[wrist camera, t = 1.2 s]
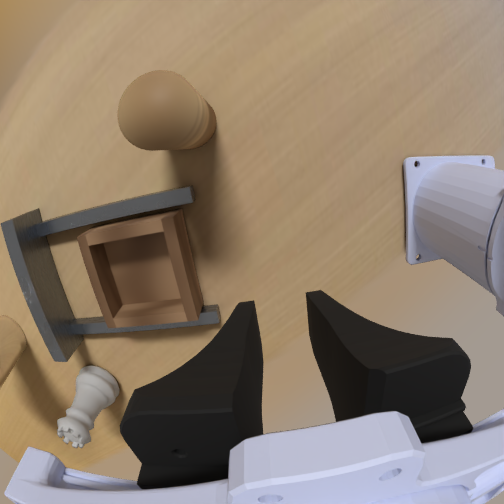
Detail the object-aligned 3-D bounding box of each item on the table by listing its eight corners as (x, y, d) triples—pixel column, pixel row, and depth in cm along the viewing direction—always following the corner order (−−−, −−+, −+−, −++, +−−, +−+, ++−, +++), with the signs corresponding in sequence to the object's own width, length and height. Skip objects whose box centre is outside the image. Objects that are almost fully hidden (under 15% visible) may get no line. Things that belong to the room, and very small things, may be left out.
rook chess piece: (129, 389, 25) (104, 452, 18) (102, 400, 26) (76, 457, 19) (98, 356, 24) (62, 417, 17) (73, 370, 25) (38, 424, 17)
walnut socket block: (181, 208, 20) (172, 217, 17) (203, 301, 22) (198, 320, 20) (93, 226, 20) (76, 236, 18) (120, 311, 22) (108, 328, 20)
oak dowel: (211, 92, 18) (191, 61, 10) (220, 143, 19) (203, 140, 12) (159, 104, 18) (113, 83, 11) (168, 154, 19) (124, 159, 12)
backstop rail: (189, 168, 19) (177, 173, 16) (223, 328, 23) (219, 355, 20) (27, 212, 20) (0, 223, 16) (71, 339, 24) (54, 361, 20)
